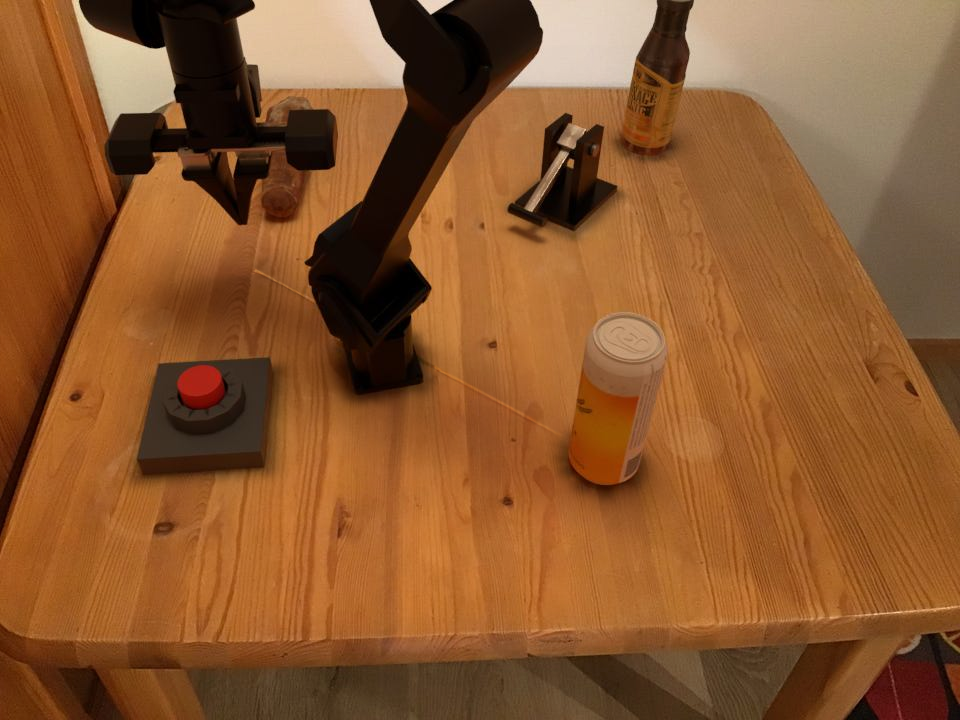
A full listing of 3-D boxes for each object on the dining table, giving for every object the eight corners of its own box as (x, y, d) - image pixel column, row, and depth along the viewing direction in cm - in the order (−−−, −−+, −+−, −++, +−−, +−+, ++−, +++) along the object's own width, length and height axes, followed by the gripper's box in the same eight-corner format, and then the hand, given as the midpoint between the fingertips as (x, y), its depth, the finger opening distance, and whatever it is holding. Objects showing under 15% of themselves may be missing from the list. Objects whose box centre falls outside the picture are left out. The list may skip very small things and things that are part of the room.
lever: (543, 232, 93) (539, 221, 90) (509, 217, 94) (504, 206, 92) (598, 144, 95) (595, 132, 92) (563, 131, 96) (560, 119, 94)
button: (222, 408, 71) (218, 394, 70) (178, 411, 71) (174, 397, 70) (227, 377, 74) (223, 363, 73) (185, 380, 74) (180, 365, 72)
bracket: (573, 235, 95) (583, 159, 88) (514, 209, 98) (519, 134, 91) (616, 194, 101) (628, 120, 94) (559, 171, 104) (567, 98, 97)
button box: (264, 467, 72) (257, 437, 69) (143, 475, 71) (130, 445, 68) (273, 373, 79) (267, 343, 76) (164, 379, 78) (153, 349, 76)
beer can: (593, 423, 76) (616, 297, 65) (651, 458, 73) (685, 333, 63) (553, 464, 73) (571, 339, 62) (613, 502, 70) (642, 378, 59)
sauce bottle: (610, 139, 110) (634, -17, 96) (651, 129, 112) (680, -25, 98) (637, 165, 106) (667, 6, 92) (679, 154, 108) (714, -3, 93)
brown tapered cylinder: (320, 134, 109) (315, 94, 105) (303, 223, 96) (296, 181, 92) (271, 133, 109) (264, 93, 105) (246, 223, 95) (237, 181, 91)
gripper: (331, 16, 74) (348, 171, 85) (111, 19, 72) (157, 176, 83) (323, 77, 66) (343, 239, 77) (76, 82, 65) (133, 246, 76)
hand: (243, 222), depth 78 cm, fingers closed
